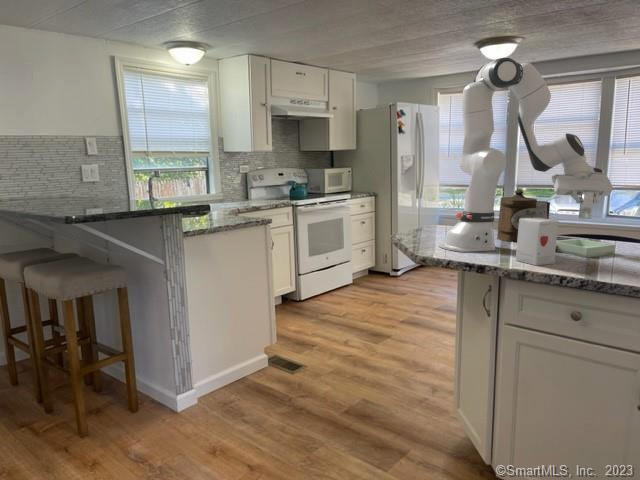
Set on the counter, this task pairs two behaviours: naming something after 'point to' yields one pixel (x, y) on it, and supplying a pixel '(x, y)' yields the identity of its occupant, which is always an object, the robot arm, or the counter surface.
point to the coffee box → (542, 209)
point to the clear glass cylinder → (586, 205)
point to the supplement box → (536, 241)
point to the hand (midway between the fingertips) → (587, 202)
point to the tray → (585, 248)
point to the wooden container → (514, 215)
